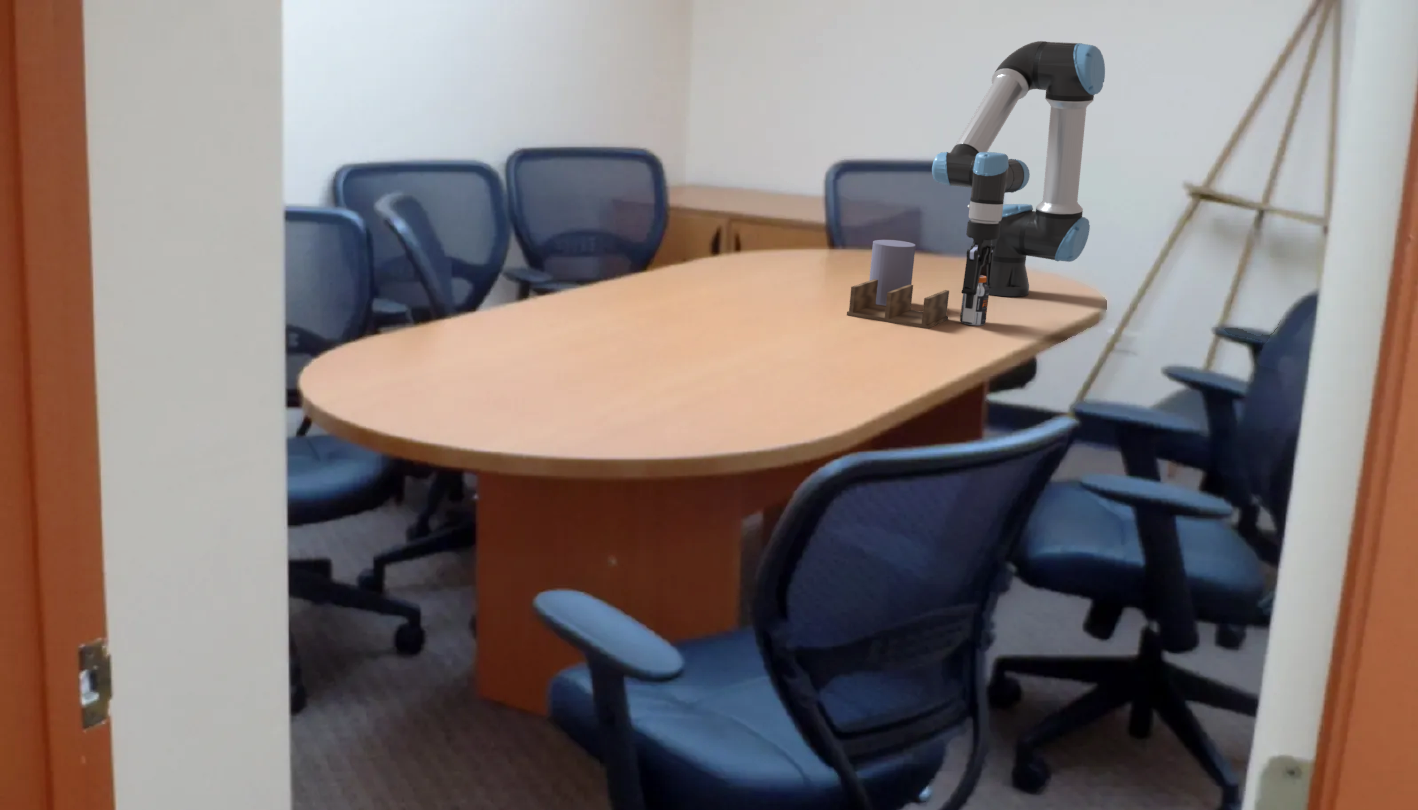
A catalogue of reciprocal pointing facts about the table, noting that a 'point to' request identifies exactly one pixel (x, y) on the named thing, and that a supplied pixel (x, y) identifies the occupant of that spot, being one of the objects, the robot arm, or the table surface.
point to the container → (891, 266)
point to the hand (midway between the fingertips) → (972, 319)
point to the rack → (897, 306)
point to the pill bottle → (979, 303)
